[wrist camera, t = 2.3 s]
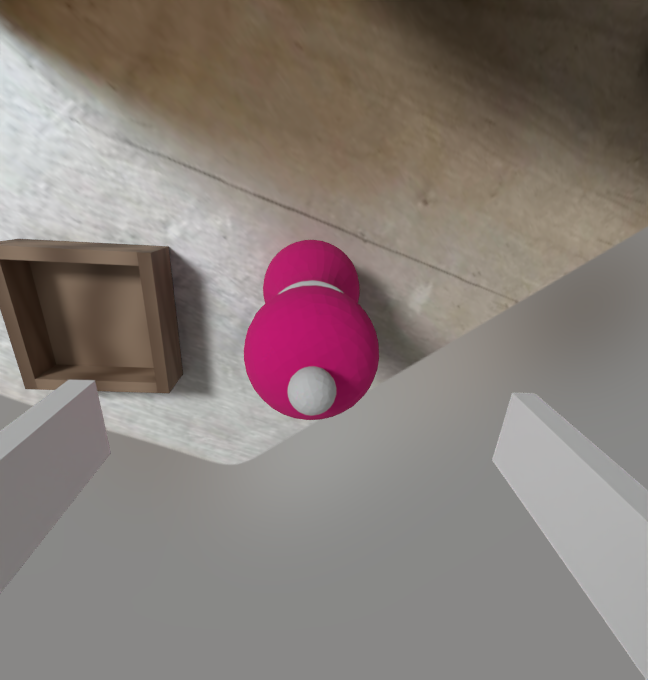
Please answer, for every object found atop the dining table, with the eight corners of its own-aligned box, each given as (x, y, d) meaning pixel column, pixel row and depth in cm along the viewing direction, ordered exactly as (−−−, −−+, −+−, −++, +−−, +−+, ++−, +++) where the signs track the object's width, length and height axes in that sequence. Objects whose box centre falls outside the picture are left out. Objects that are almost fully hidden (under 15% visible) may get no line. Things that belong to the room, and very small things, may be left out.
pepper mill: (364, 298, 31) (442, 446, 13) (291, 328, 32) (264, 508, 14) (334, 219, 28) (376, 263, 10) (255, 255, 29) (160, 354, 11)
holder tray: (168, 246, 29) (150, 252, 26) (182, 374, 33) (169, 393, 30) (18, 238, 28) (-20, 244, 25) (53, 369, 33) (25, 389, 30)
